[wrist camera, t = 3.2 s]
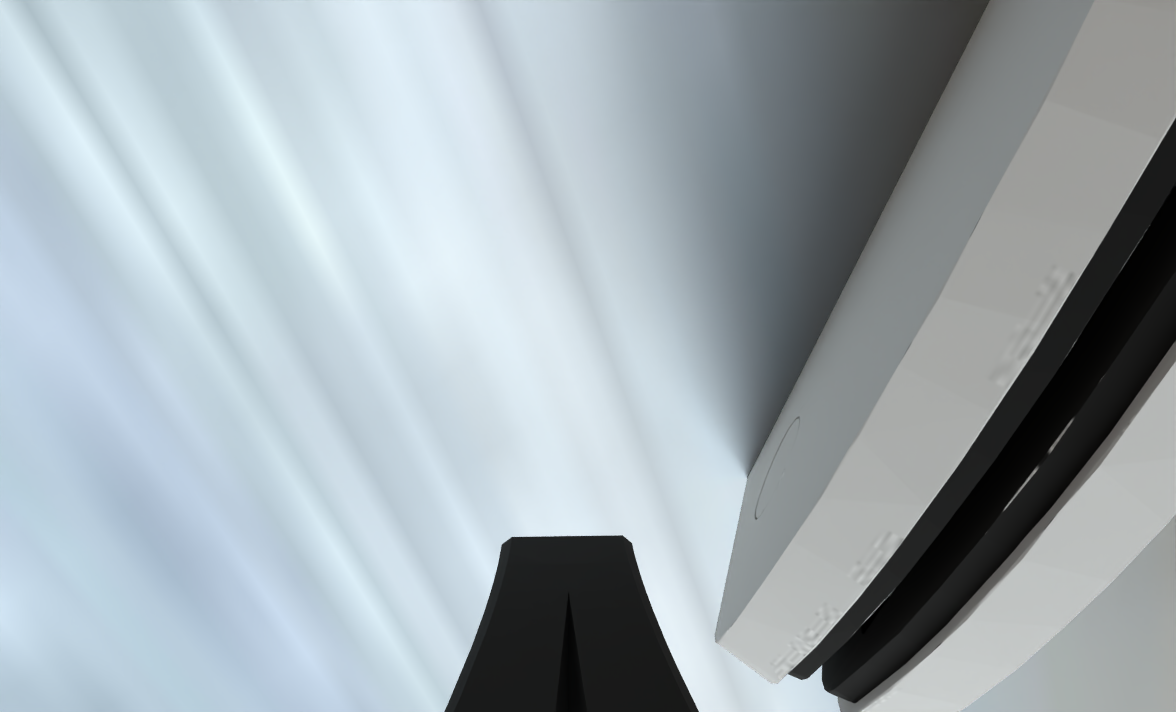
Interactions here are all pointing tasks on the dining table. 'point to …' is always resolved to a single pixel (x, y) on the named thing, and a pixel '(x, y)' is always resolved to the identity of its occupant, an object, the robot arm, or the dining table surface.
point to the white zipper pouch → (982, 379)
